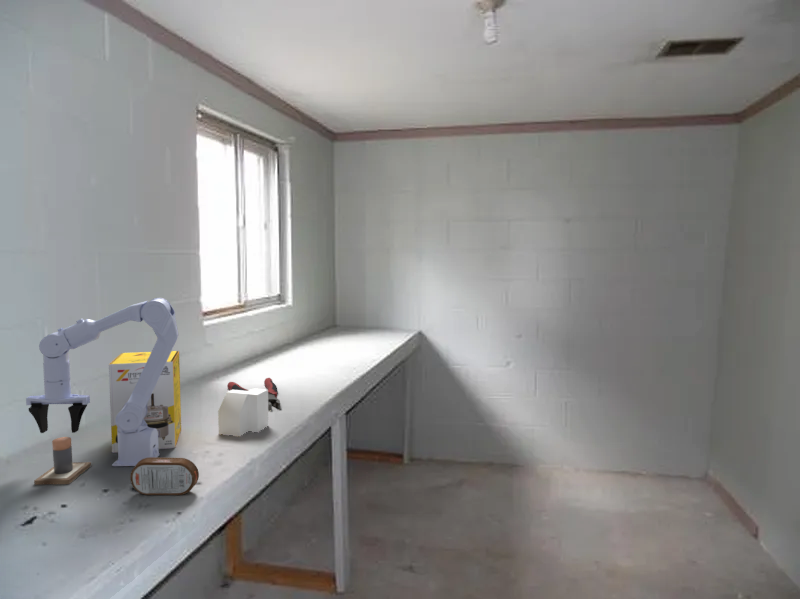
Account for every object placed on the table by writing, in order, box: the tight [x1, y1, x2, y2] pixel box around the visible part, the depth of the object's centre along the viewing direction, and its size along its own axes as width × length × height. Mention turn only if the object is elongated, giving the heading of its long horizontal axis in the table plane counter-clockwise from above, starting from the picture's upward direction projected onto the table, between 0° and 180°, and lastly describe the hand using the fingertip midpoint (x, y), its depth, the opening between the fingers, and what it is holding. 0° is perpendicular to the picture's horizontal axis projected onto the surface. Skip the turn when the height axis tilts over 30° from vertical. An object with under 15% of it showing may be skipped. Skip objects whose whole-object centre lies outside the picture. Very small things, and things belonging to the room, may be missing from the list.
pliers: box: [227, 377, 281, 411], centre depth 210 cm, size 37×18×3 cm, turn 29°
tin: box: [129, 457, 200, 496], centre depth 128 cm, size 15×3×8 cm, turn 92°
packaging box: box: [108, 350, 182, 454], centre depth 161 cm, size 16×16×25 cm
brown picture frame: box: [33, 461, 92, 486], centre depth 138 cm, size 8×11×1 cm
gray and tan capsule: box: [51, 436, 73, 474], centre depth 137 cm, size 4×4×8 cm
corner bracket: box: [217, 387, 269, 437], centre depth 172 cm, size 11×11×12 cm
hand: (59, 431), depth 142 cm, fingers open, 7 cm apart
